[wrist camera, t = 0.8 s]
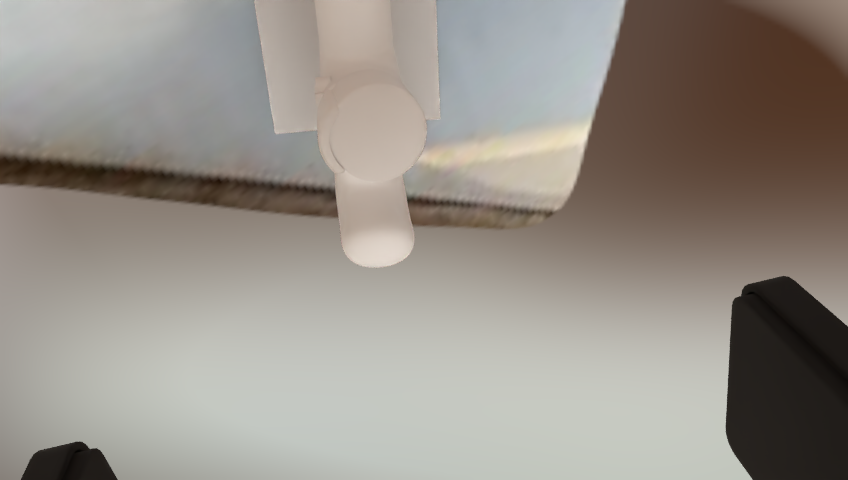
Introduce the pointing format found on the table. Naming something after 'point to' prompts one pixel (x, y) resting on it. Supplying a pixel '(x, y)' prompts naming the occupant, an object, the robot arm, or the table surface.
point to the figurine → (357, 104)
